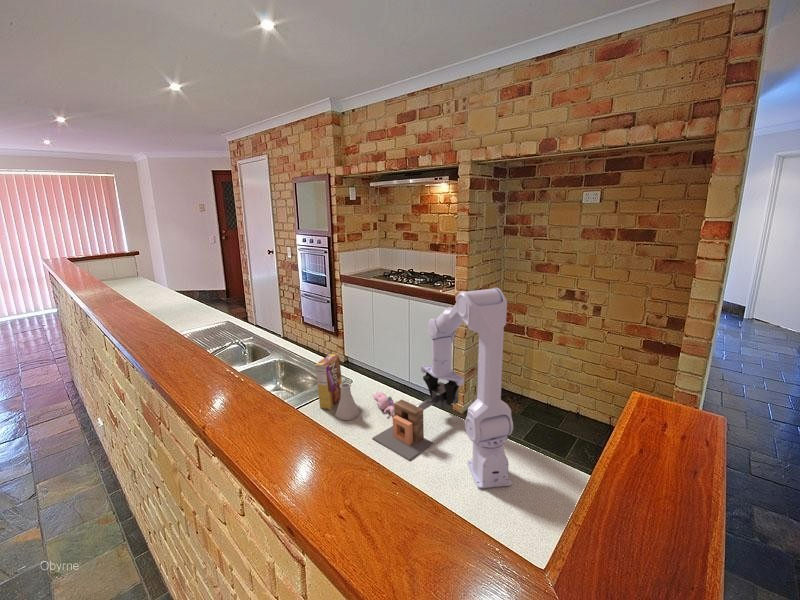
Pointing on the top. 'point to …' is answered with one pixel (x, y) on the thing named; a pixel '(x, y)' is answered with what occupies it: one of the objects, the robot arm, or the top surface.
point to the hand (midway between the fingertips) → (441, 400)
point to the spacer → (397, 432)
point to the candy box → (329, 381)
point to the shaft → (437, 398)
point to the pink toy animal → (385, 402)
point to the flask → (346, 404)
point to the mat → (401, 444)
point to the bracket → (411, 418)
